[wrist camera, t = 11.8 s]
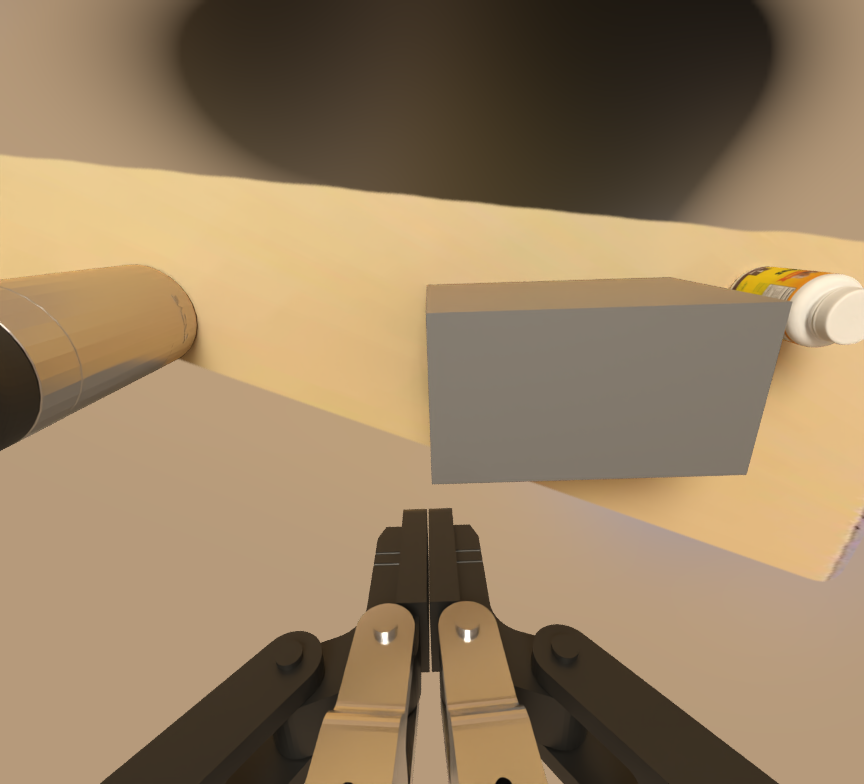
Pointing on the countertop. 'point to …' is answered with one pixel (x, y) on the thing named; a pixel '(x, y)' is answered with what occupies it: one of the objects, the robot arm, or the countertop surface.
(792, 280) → the supplement bottle
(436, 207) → the countertop surface
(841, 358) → the countertop surface
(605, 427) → the housing
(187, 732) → the robot arm
